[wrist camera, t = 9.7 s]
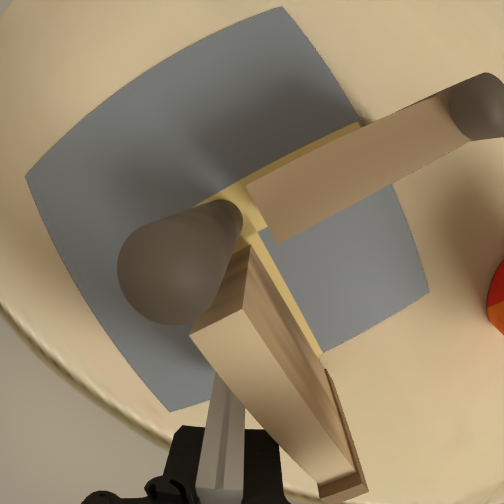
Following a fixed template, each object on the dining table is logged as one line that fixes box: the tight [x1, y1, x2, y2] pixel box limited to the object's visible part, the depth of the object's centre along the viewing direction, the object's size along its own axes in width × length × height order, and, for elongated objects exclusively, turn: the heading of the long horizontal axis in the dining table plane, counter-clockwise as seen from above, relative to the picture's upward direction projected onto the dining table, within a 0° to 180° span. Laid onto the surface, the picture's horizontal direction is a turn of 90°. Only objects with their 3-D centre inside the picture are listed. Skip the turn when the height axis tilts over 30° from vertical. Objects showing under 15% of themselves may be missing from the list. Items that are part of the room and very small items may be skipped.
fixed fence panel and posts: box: [117, 73, 504, 326], centre depth 9 cm, size 2×10×8 cm, turn 119°
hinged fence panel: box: [189, 244, 369, 504], centre depth 10 cm, size 9×2×8 cm, turn 30°
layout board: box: [25, 6, 429, 412], centre depth 13 cm, size 17×17×1 cm
